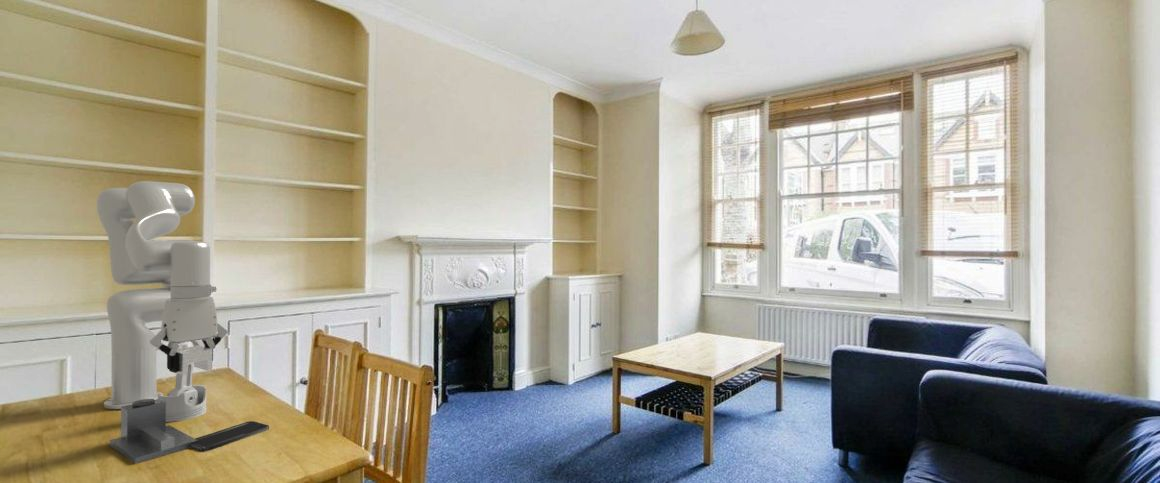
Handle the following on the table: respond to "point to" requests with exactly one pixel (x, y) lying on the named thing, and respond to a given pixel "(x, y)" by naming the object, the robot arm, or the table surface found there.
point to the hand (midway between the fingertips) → (190, 367)
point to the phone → (229, 435)
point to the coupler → (148, 432)
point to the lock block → (194, 358)
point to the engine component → (185, 396)
